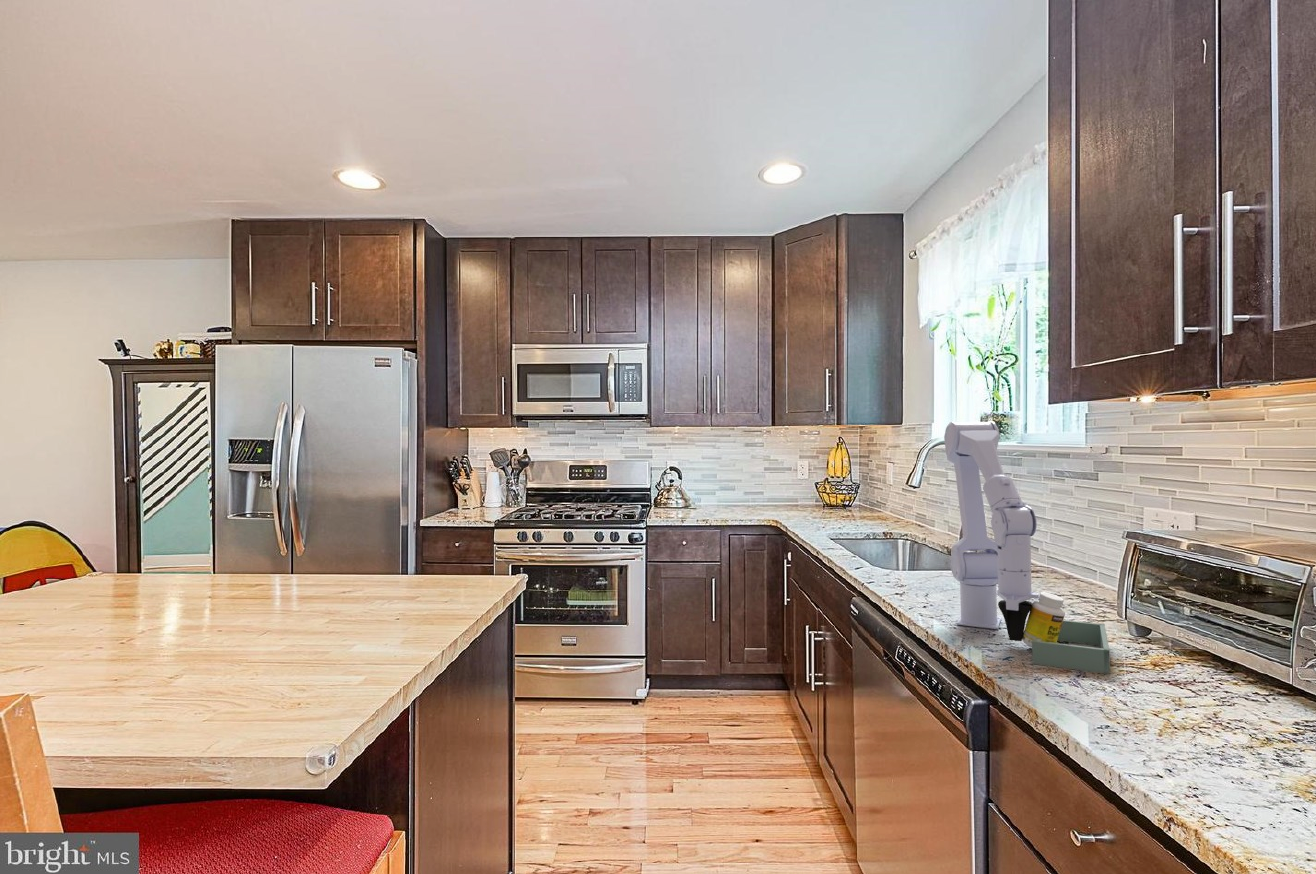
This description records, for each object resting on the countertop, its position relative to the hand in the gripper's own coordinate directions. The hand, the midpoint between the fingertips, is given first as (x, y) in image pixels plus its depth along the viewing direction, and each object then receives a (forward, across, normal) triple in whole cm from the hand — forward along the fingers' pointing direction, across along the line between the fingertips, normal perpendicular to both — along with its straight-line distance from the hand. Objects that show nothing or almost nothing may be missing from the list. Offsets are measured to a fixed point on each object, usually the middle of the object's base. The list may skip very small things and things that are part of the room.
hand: (1015, 639), depth 131 cm
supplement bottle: (+1, 0, -4) cm, 4 cm away
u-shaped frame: (+2, 0, -9) cm, 9 cm away
